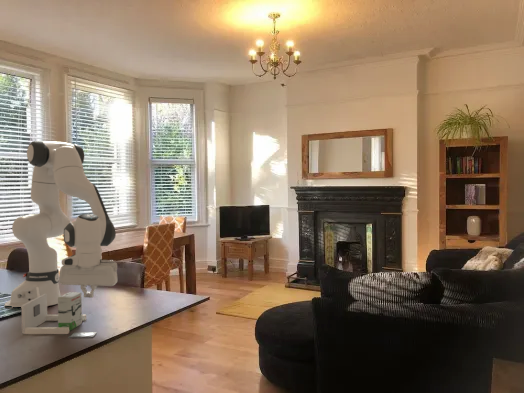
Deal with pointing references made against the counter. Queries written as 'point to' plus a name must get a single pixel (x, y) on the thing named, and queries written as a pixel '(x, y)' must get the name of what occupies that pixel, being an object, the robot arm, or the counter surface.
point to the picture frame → (83, 335)
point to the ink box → (70, 310)
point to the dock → (40, 318)
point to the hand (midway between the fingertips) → (88, 297)
